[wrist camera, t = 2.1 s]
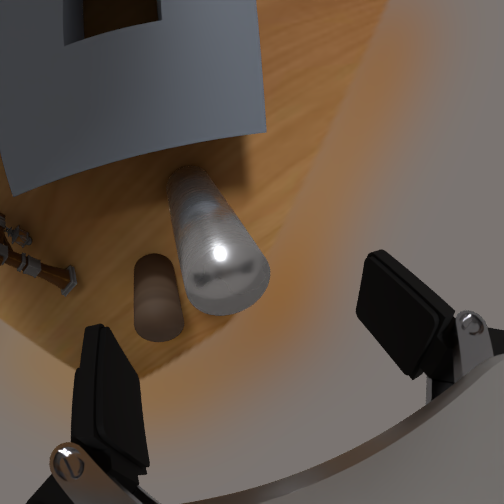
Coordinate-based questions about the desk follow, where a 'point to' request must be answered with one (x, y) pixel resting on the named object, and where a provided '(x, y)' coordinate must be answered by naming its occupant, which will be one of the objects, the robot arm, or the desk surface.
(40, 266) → the wooden post with brackets
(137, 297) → the short pin
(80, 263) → the desk surface
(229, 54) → the hole block
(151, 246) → the desk surface
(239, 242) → the long pin
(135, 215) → the desk surface
